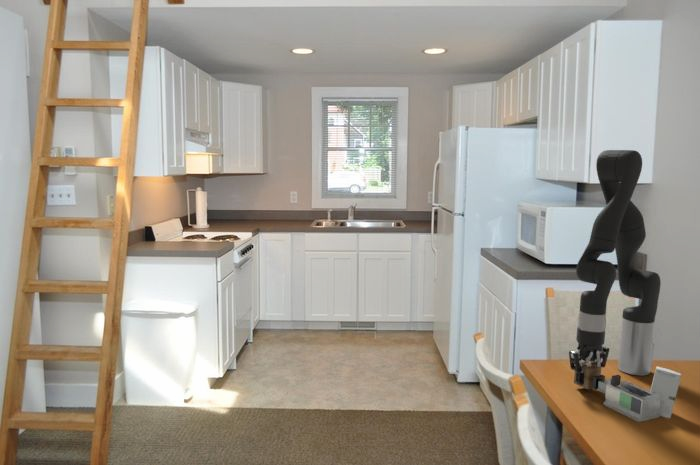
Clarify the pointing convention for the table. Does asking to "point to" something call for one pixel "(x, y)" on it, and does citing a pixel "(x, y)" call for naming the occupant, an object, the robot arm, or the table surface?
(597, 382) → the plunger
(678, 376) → the skincare box
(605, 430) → the table surface
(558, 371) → the table surface
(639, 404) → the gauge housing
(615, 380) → the dark gray block
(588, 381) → the walnut block
